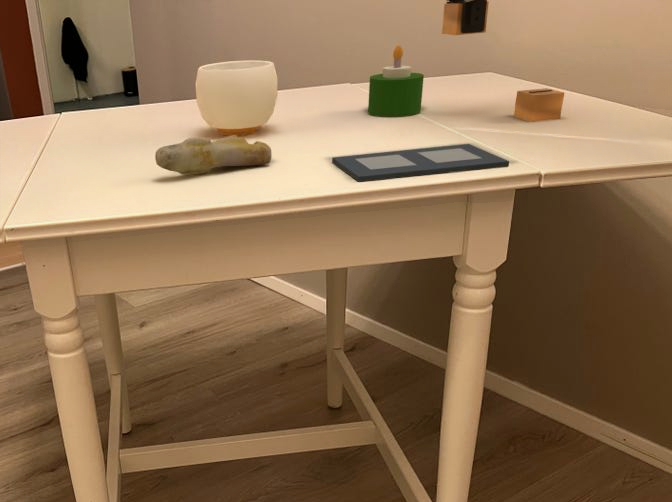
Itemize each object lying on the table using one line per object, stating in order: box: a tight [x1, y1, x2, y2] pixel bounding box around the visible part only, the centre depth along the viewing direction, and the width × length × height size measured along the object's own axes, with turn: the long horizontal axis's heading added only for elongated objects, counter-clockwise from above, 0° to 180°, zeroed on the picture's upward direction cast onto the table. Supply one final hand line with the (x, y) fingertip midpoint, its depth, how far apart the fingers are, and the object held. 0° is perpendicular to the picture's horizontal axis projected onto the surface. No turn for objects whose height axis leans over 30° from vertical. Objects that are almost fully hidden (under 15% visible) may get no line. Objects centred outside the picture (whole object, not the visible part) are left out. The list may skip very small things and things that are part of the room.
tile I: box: [513, 87, 565, 123], centre depth 101 cm, size 4×4×4 cm
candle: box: [367, 44, 425, 118], centre depth 113 cm, size 8×8×10 cm
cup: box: [195, 59, 278, 137], centre depth 107 cm, size 12×12×10 cm
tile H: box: [441, 0, 490, 36], centre depth 102 cm, size 4×4×4 cm
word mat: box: [331, 143, 510, 183], centre depth 85 cm, size 18×10×1 cm, turn 97°
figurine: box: [154, 135, 272, 176], centre depth 88 cm, size 5×5×15 cm
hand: (463, 30), depth 102 cm, fingers closed on tile H, 4 cm apart
